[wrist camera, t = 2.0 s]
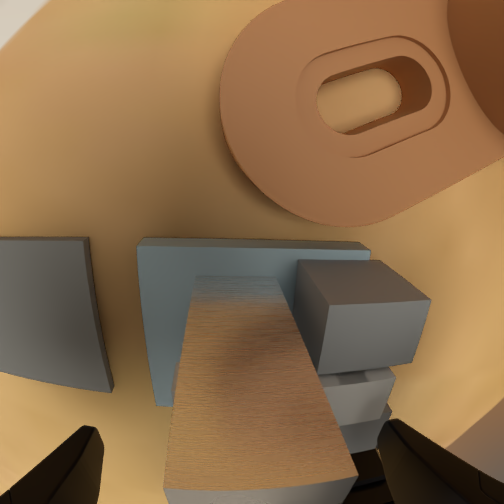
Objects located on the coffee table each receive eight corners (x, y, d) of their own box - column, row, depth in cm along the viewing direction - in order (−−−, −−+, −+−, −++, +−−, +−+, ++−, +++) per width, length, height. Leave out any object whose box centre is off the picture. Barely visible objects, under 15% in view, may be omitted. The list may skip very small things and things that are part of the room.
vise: (339, 385, 16) (375, 460, 11) (159, 390, 15) (143, 473, 10) (369, 242, 13) (441, 293, 8) (143, 237, 12) (96, 294, 7)
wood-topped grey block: (265, 391, 14) (300, 562, 6) (200, 392, 13) (196, 567, 5) (275, 276, 12) (358, 475, 4) (195, 275, 12) (162, 487, 4)
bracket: (481, -3, 10) (558, -30, 3) (529, 121, 12) (614, 130, 6) (185, 62, 11) (149, -25, 4) (274, 244, 13) (325, 335, 7)
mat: (114, 385, 14) (111, 393, 14) (1, 365, 14) (-3, 370, 13) (88, 237, 12) (83, 241, 11) (-33, 237, 11) (-40, 240, 11)
